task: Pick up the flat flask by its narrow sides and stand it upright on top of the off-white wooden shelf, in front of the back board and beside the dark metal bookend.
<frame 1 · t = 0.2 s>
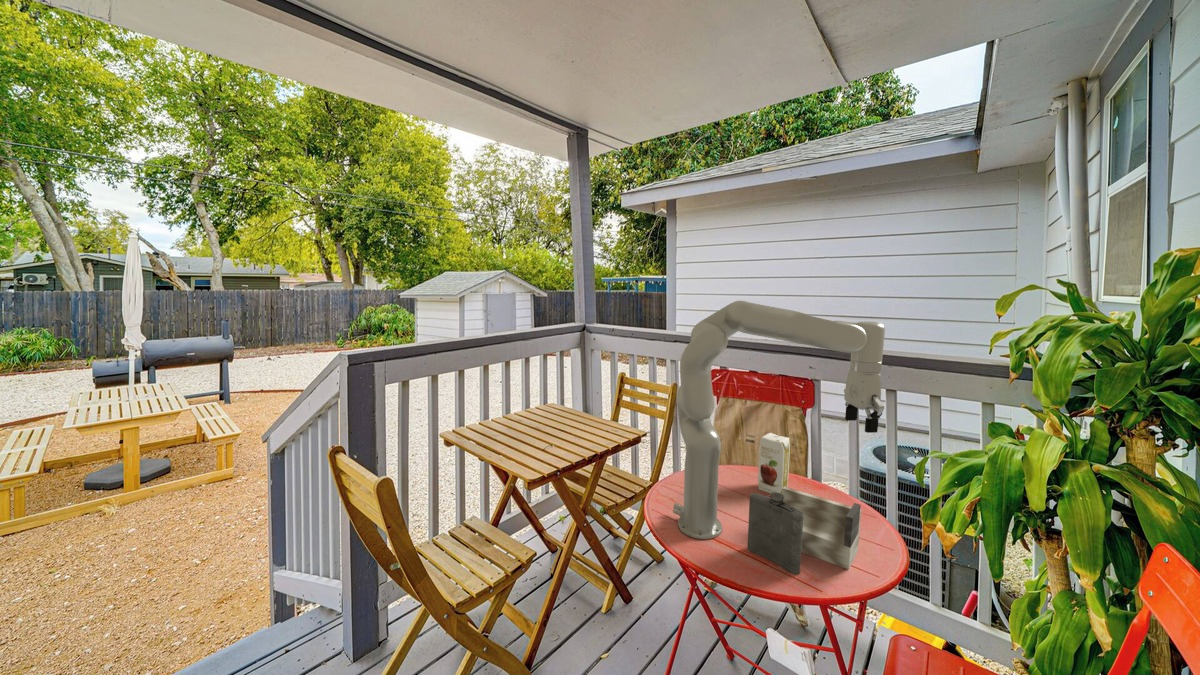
hand: (860, 425, 130), 31 cm above the table, tool pointing down, fingers open, 9 cm apart
juice carton: (772, 490, 157), on the table
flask: (773, 560, 120), on the table
shelf: (812, 545, 126), on the table
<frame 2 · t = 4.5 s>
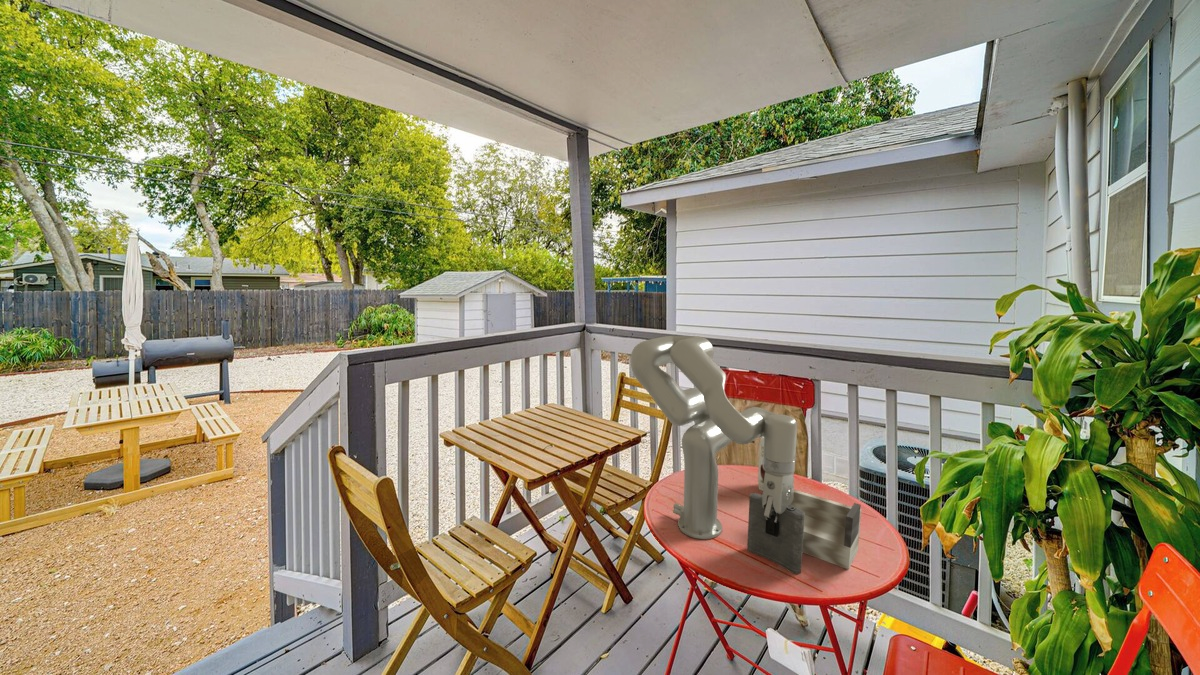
hand: (775, 530, 119), 8 cm above the table, tool pointing down, fingers closed on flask, 3 cm apart
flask: (773, 559, 120), on the table, touching gripper
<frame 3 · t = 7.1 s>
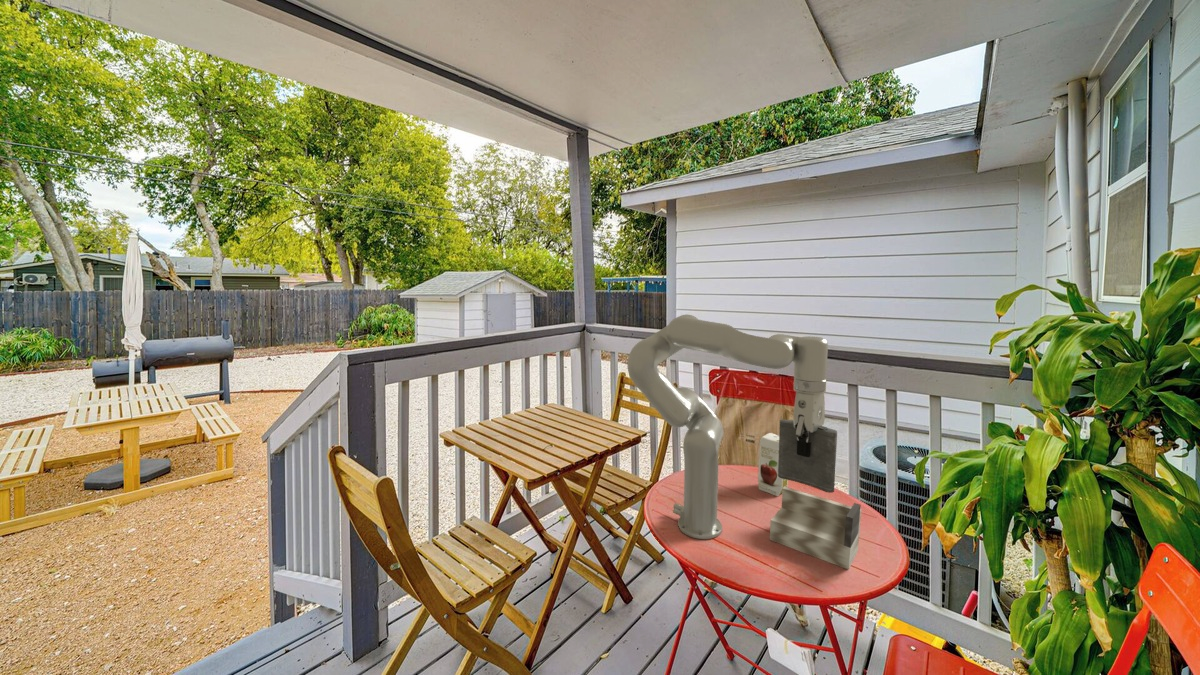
hand: (806, 452, 121), 27 cm above the table, tool pointing down, fingers closed on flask, 3 cm apart
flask: (805, 483, 122), point 19 cm above the table, touching gripper
when the fingers open (16 cm above the table, at t = 9.9 s): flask drops 1 cm, resting on shelf.
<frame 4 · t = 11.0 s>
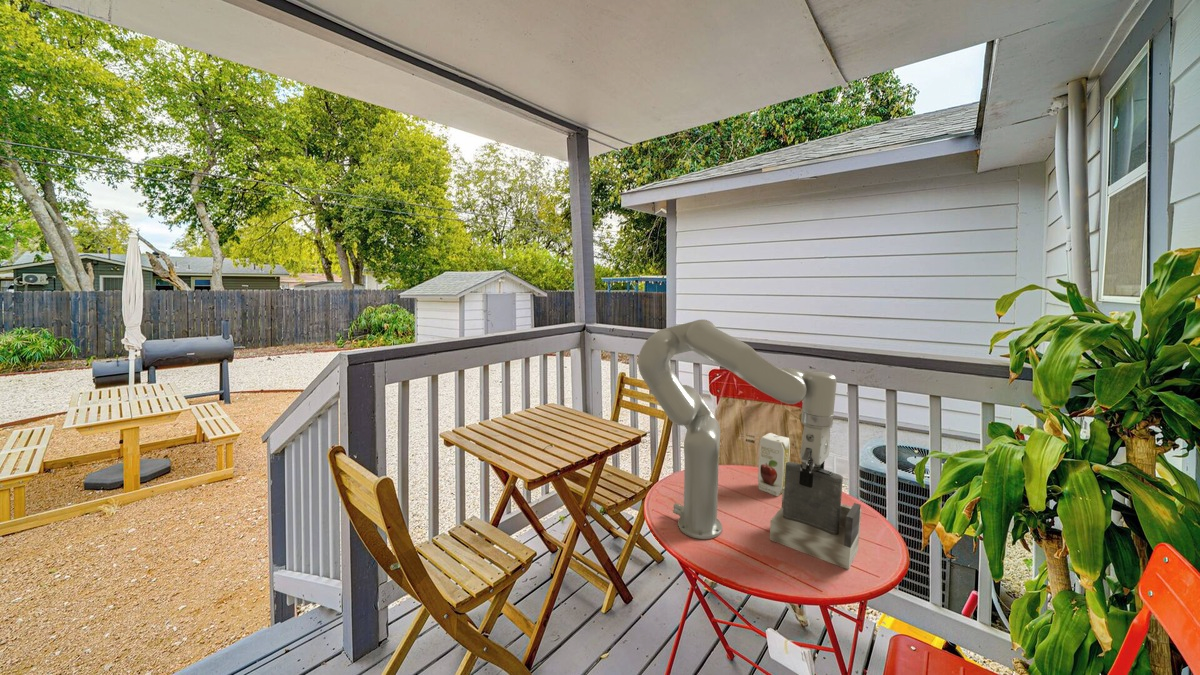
hand: (811, 479, 124), 19 cm above the table, tool pointing down, fingers open, 9 cm apart
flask: (810, 524, 126), point 6 cm above the table, touching shelf
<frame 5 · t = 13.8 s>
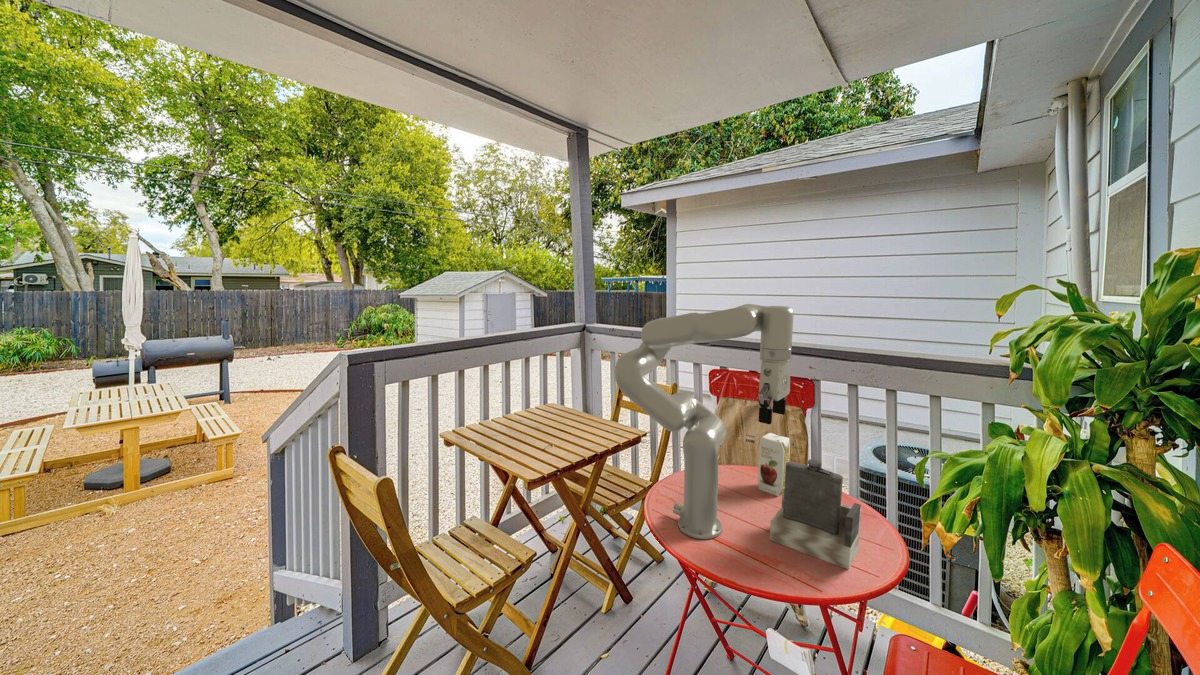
hand: (772, 418, 121), 36 cm above the table, tool pointing down, fingers open, 9 cm apart
at the end: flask inside the target area on the shelf (0.2 cm from its centre), point 5.8 cm above the shelf's base; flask tilted 0°; the gripper is holding nothing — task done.
